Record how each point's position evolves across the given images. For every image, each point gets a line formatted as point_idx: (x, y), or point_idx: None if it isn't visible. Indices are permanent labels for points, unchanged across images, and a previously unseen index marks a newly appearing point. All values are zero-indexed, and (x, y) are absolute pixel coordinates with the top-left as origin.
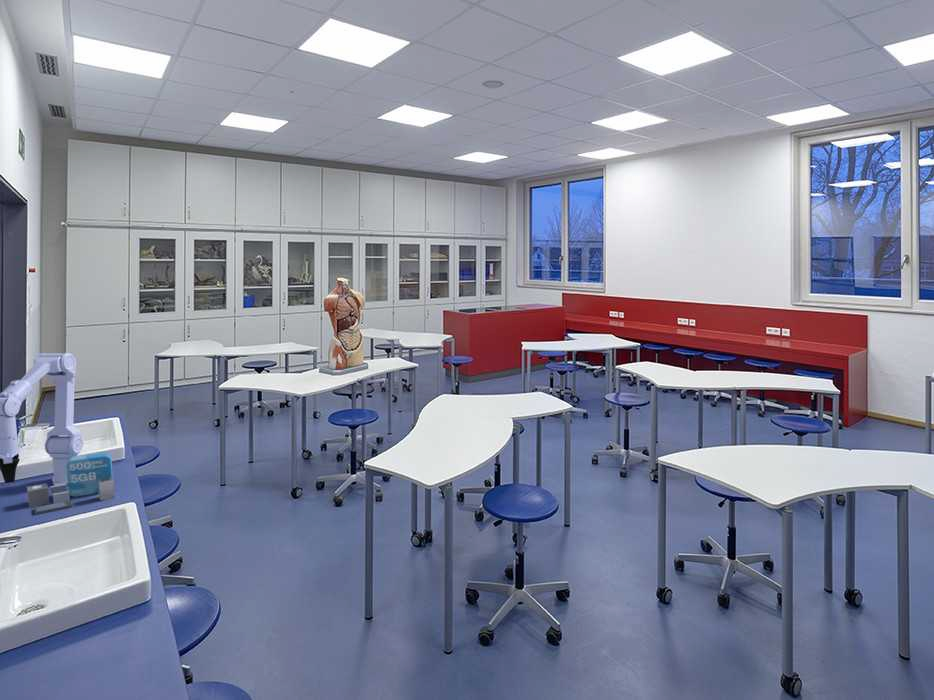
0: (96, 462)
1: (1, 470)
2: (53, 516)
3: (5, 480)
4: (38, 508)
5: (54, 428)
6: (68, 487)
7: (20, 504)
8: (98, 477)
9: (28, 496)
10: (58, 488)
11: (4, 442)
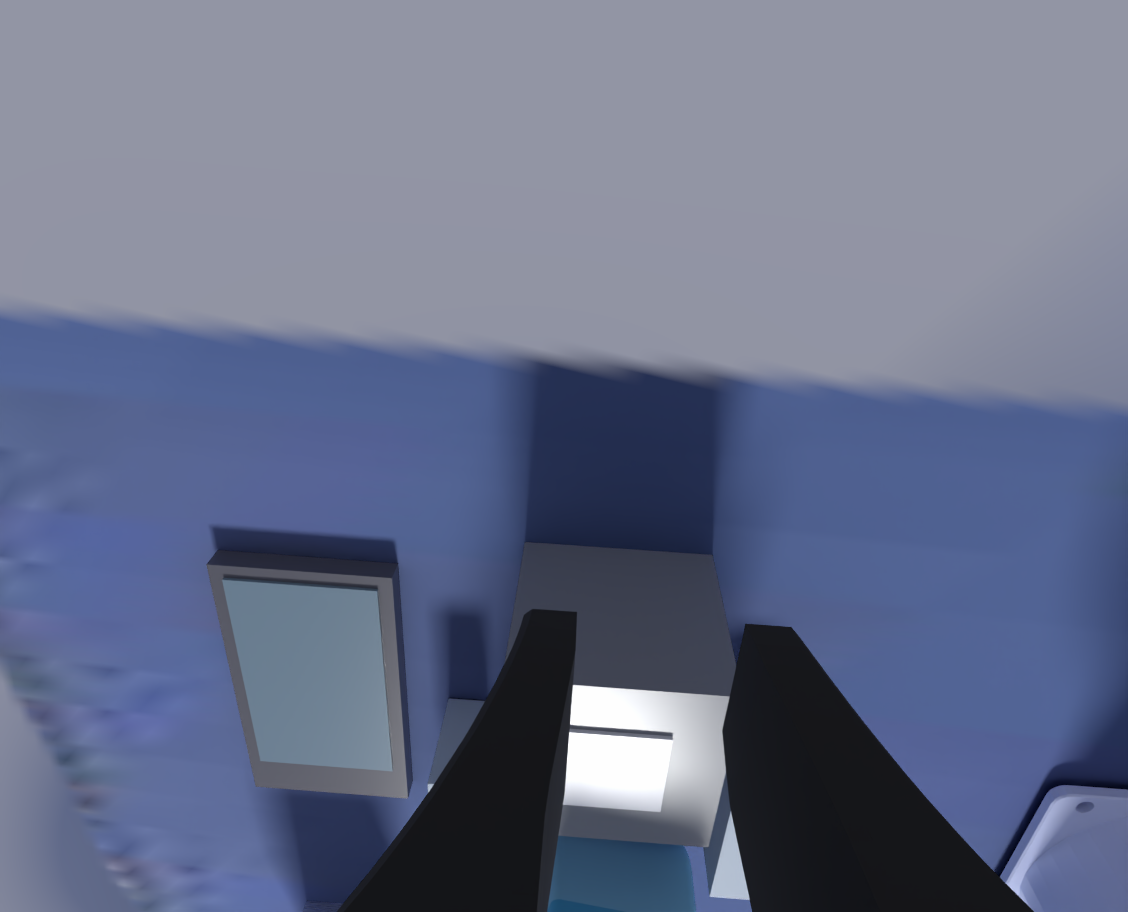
0: None
1: (343, 909)
2: (89, 647)
3: (516, 655)
4: (325, 604)
5: None
6: (554, 899)
7: (696, 489)
8: None
9: (512, 629)
10: (717, 826)
11: None
